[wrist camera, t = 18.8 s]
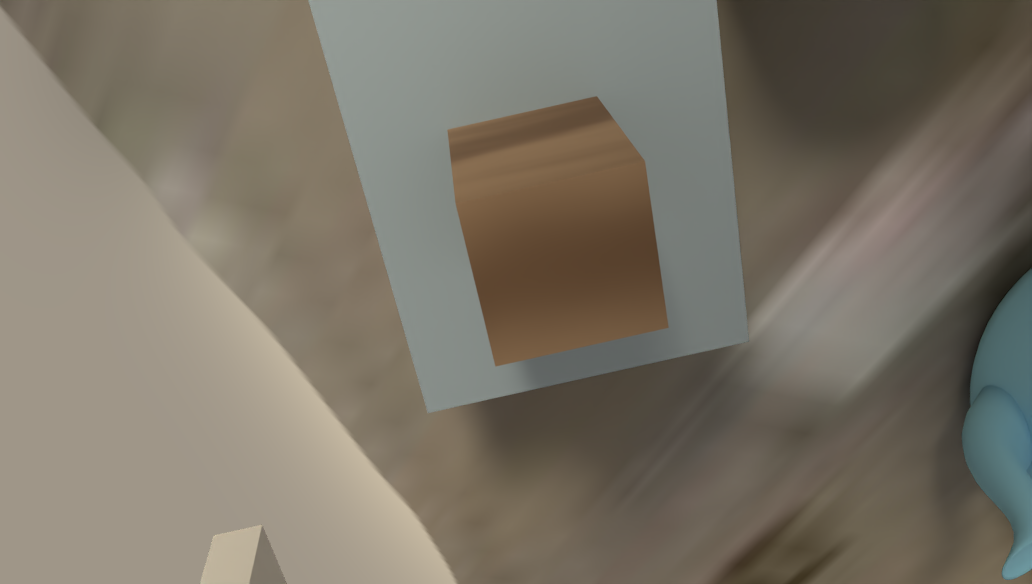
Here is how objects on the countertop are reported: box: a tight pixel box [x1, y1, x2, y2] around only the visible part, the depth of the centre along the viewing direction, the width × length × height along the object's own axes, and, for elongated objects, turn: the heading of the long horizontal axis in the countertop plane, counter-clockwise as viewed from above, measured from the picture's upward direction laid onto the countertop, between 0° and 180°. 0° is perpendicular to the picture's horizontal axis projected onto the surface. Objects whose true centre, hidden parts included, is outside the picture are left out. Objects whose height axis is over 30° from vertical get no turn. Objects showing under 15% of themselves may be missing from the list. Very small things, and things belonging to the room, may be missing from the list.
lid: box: [308, 0, 749, 413], centre depth 31 cm, size 17×12×1 cm
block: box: [447, 96, 669, 367], centre depth 28 cm, size 5×5×7 cm
